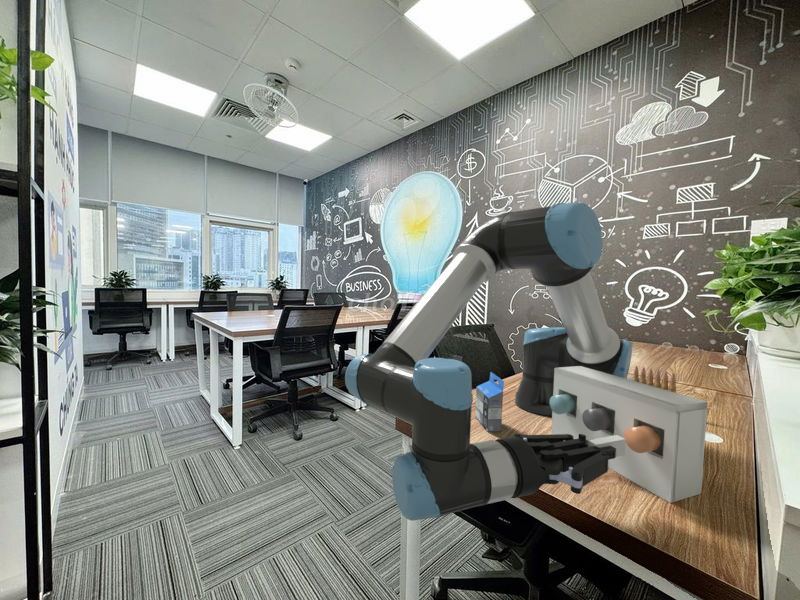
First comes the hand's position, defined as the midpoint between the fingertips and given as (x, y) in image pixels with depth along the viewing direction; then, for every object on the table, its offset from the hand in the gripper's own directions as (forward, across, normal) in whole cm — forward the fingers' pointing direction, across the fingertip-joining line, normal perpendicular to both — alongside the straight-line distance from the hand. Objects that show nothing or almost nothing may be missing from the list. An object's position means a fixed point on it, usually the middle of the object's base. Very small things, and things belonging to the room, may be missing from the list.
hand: (620, 444), depth 54 cm
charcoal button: (+5, -9, -2) cm, 10 cm away
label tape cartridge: (-4, -31, -9) cm, 32 cm away
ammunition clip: (+49, -26, -9) cm, 56 cm away
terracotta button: (+5, 0, -2) cm, 6 cm away
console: (+11, -9, -9) cm, 16 cm away
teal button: (+5, -17, -2) cm, 18 cm away
